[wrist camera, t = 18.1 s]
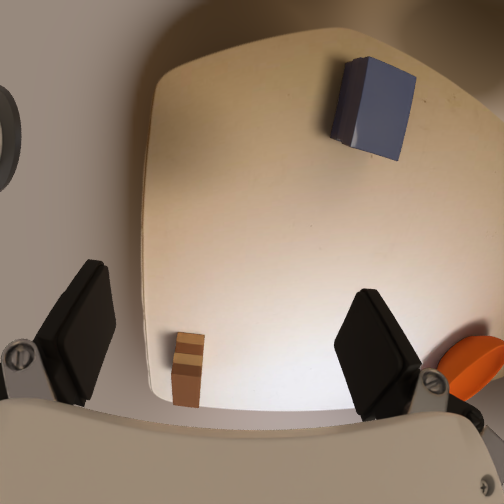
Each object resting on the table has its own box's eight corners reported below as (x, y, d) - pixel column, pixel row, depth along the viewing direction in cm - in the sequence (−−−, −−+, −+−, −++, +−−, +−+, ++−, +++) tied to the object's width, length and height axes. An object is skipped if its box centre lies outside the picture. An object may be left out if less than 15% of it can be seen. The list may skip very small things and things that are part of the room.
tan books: (201, 370, 51) (199, 409, 43) (178, 367, 50) (172, 405, 42) (204, 335, 46) (201, 377, 38) (177, 331, 45) (170, 373, 38)
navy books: (372, 149, 33) (388, 156, 29) (329, 137, 32) (342, 143, 28) (387, 77, 28) (406, 76, 24) (345, 61, 27) (360, 57, 23)
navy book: (387, 156, 29) (398, 161, 27) (341, 143, 28) (349, 146, 26) (404, 77, 24) (416, 77, 22) (358, 58, 23) (368, 55, 21)
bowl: (502, 325, 55) (519, 347, 47) (449, 384, 66) (462, 407, 58) (466, 311, 50) (489, 341, 41) (402, 384, 61) (415, 414, 52)
